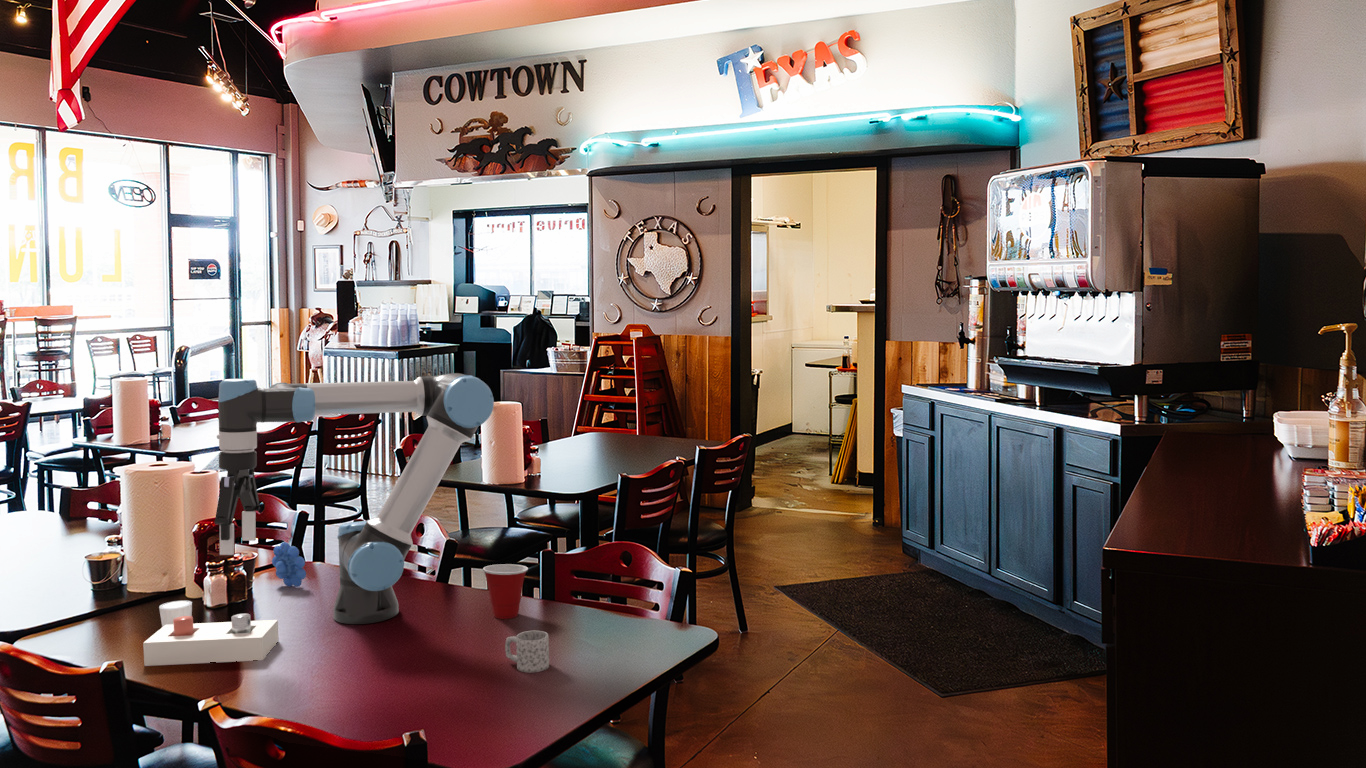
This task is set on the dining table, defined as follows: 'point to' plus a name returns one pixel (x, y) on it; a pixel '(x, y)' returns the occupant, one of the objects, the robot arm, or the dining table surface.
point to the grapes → (289, 564)
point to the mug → (530, 651)
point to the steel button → (241, 623)
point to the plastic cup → (505, 588)
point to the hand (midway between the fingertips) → (238, 547)
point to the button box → (211, 644)
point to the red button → (183, 626)
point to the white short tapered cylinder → (174, 611)
